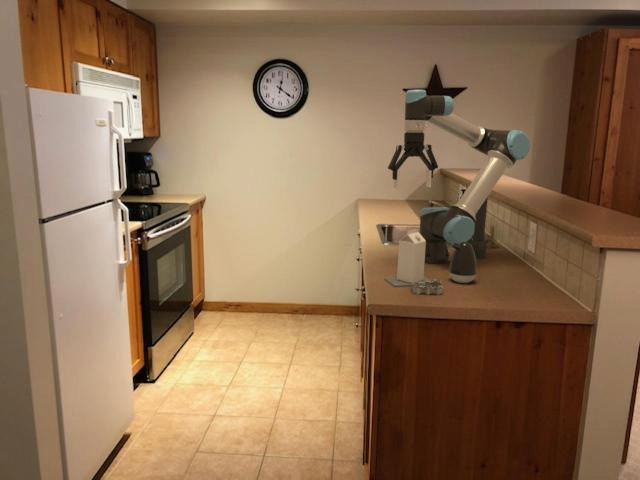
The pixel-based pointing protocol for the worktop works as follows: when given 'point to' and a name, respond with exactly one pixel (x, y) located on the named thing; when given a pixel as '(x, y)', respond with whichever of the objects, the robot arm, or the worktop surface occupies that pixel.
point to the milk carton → (411, 257)
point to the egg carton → (428, 287)
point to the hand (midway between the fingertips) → (412, 187)
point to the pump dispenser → (463, 263)
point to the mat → (400, 283)
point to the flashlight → (480, 232)
